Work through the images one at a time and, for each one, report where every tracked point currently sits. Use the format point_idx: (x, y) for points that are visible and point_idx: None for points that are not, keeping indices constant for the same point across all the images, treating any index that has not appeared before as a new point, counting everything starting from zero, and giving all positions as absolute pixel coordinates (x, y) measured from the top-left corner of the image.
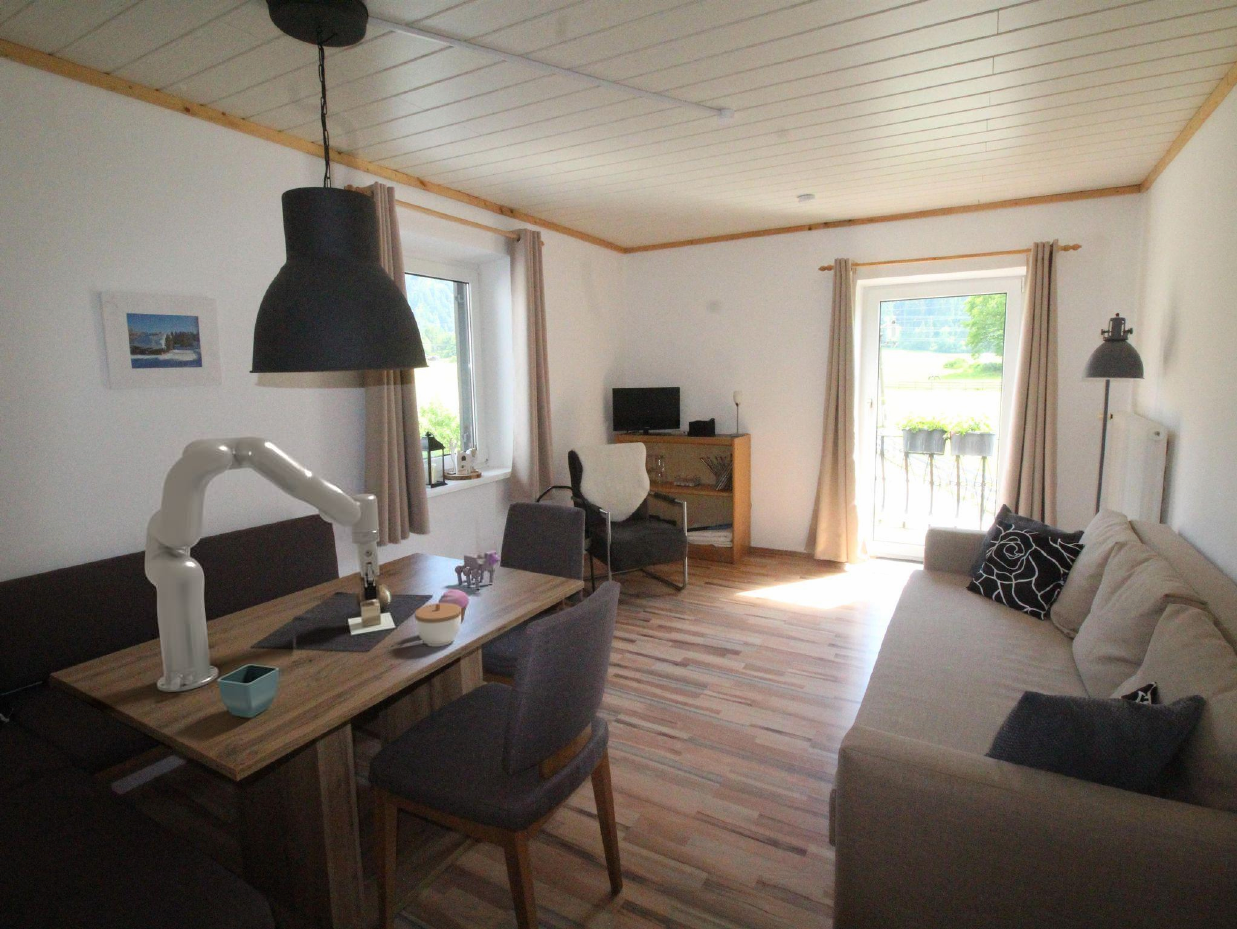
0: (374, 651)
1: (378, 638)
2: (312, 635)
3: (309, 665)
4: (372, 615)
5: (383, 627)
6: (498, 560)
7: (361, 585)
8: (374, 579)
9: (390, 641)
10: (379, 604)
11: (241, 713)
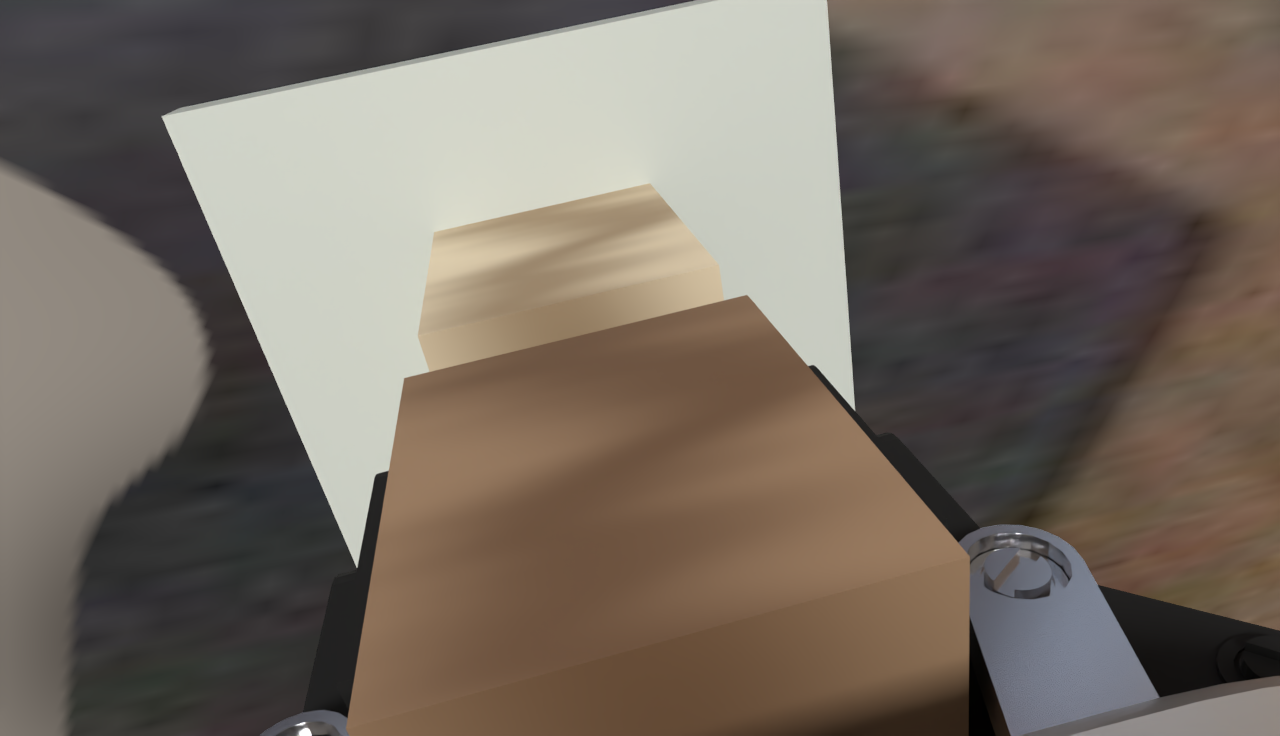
0: (1255, 165)
1: (945, 166)
2: None
3: (1223, 584)
4: None
5: (772, 140)
6: None
7: None
8: (1142, 667)
9: (1093, 21)
10: (701, 273)
11: None
